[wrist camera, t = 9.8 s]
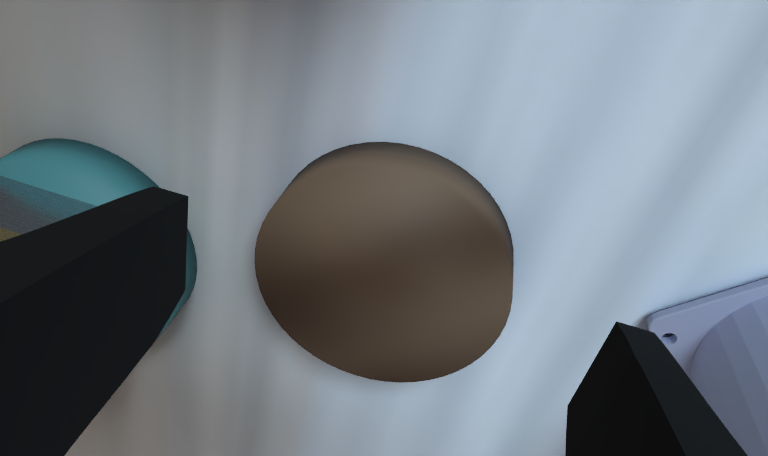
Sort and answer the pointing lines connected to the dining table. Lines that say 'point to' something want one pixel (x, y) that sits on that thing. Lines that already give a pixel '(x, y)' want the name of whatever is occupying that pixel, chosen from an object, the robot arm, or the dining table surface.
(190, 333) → the dining table surface
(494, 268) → the stand
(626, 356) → the robot arm
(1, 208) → the block
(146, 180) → the stand
